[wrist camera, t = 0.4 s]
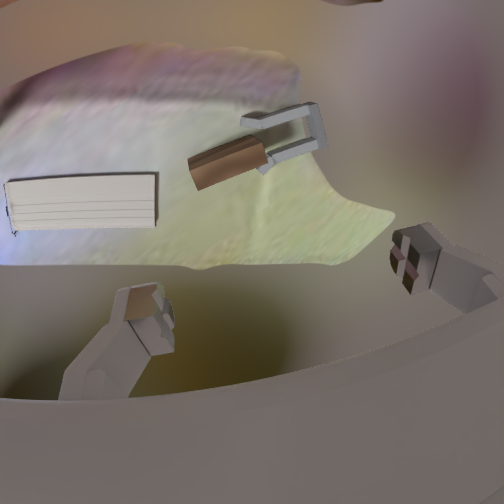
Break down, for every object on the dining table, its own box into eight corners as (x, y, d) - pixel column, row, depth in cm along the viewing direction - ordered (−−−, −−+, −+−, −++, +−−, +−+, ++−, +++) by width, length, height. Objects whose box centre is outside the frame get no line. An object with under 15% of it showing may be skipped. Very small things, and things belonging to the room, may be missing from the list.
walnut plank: (187, 158, 53) (189, 171, 46) (250, 134, 53) (262, 142, 46) (194, 176, 55) (198, 190, 48) (256, 152, 55) (268, 163, 48)
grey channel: (237, 117, 51) (241, 119, 48) (307, 95, 51) (315, 96, 48) (256, 172, 57) (261, 178, 54) (321, 149, 57) (329, 153, 54)
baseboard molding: (155, 231, 59) (155, 172, 53) (154, 238, 56) (154, 177, 51) (17, 234, 51) (8, 180, 45) (12, 241, 48) (2, 185, 42)
